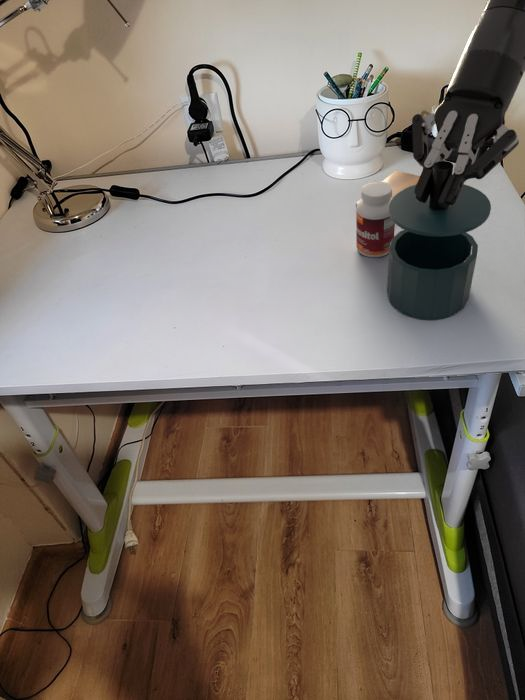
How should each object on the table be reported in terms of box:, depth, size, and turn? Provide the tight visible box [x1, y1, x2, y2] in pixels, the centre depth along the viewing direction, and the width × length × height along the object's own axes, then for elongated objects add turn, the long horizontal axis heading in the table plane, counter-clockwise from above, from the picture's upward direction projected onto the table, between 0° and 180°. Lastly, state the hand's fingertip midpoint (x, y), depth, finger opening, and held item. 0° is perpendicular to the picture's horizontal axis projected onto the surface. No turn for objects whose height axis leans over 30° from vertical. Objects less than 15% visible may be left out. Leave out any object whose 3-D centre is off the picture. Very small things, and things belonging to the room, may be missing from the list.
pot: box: [386, 229, 479, 321], centre depth 73 cm, size 12×12×8 cm
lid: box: [388, 160, 492, 237], centre depth 64 cm, size 13×13×7 cm
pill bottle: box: [355, 180, 396, 258], centre depth 82 cm, size 6×6×11 cm
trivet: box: [355, 169, 420, 208], centre depth 94 cm, size 16×14×1 cm
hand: (431, 203), depth 64 cm, fingers closed on lid, 2 cm apart
